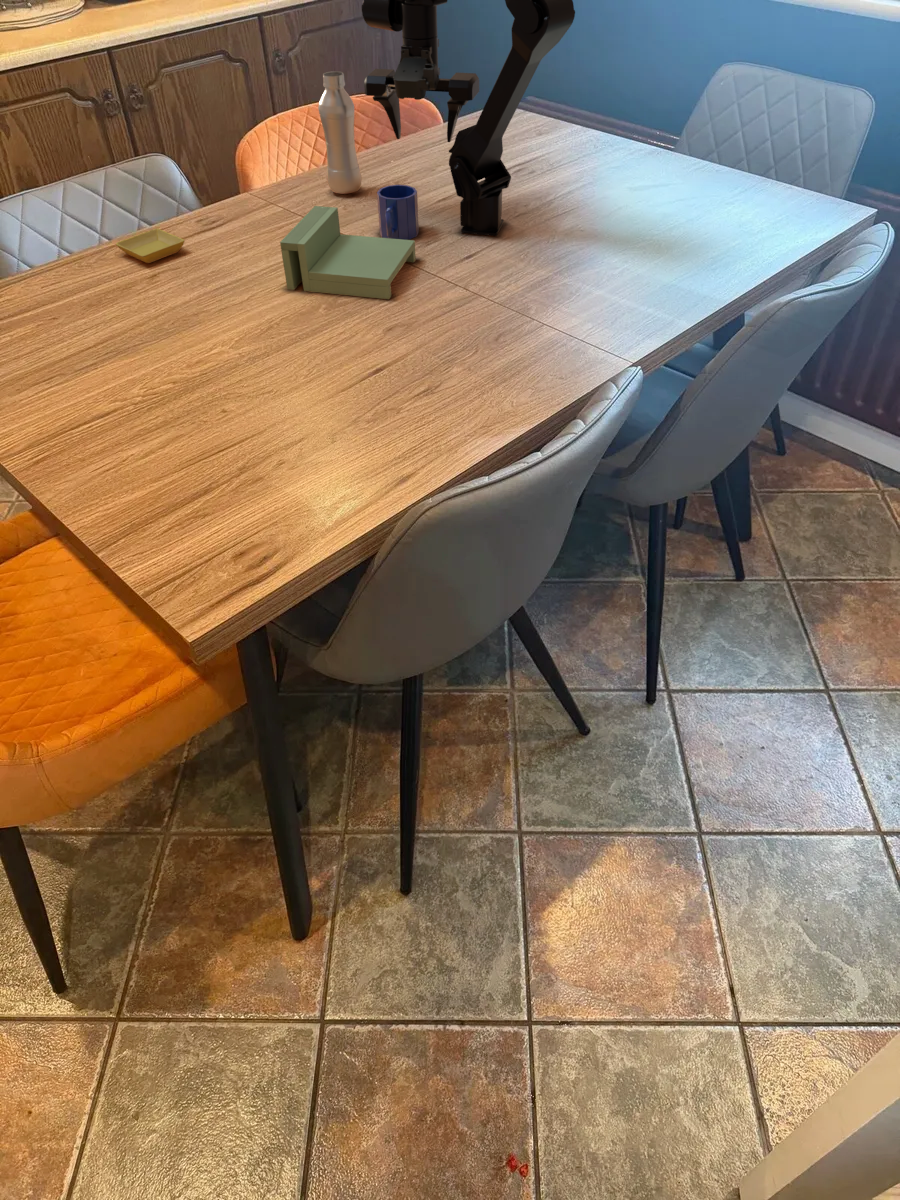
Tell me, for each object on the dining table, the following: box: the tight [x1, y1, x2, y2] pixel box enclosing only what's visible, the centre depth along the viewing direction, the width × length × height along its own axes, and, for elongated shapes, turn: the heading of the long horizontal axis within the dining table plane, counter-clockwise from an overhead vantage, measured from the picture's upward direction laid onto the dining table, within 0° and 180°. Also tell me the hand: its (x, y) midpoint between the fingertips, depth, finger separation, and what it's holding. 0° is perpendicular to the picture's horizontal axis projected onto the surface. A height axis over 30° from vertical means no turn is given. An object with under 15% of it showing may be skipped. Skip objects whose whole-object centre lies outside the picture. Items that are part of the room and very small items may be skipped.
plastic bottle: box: [317, 70, 363, 195], centre depth 159 cm, size 6×7×20 cm
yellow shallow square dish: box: [115, 228, 186, 264], centre depth 147 cm, size 9×9×2 cm
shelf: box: [279, 205, 417, 300], centre depth 137 cm, size 17×15×8 cm
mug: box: [376, 184, 420, 240], centre depth 148 cm, size 7×9×7 cm
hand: (423, 140), depth 150 cm, fingers open, 9 cm apart
